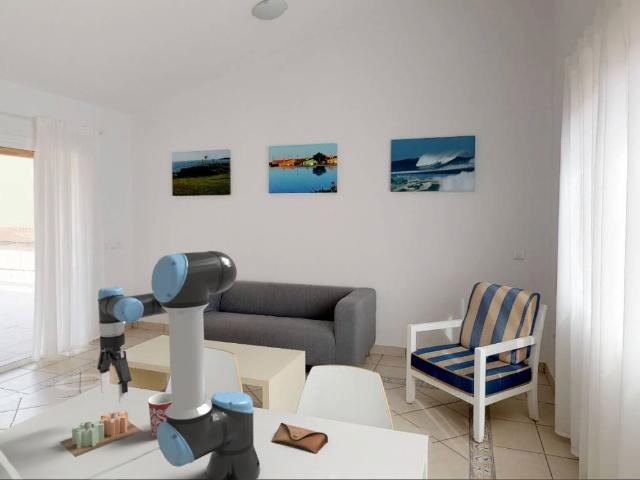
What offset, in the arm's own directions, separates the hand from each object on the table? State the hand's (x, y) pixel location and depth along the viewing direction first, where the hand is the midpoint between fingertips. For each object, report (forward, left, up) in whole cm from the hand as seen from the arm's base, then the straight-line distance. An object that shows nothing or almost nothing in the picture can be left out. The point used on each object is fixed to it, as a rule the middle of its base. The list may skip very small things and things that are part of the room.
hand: (114, 396), depth 146 cm
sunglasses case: (-49, -38, -14) cm, 64 cm away
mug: (-12, -12, -14) cm, 22 cm away
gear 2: (+1, 0, -12) cm, 12 cm away
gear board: (0, +4, -14) cm, 14 cm away
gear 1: (0, +8, -12) cm, 15 cm away
